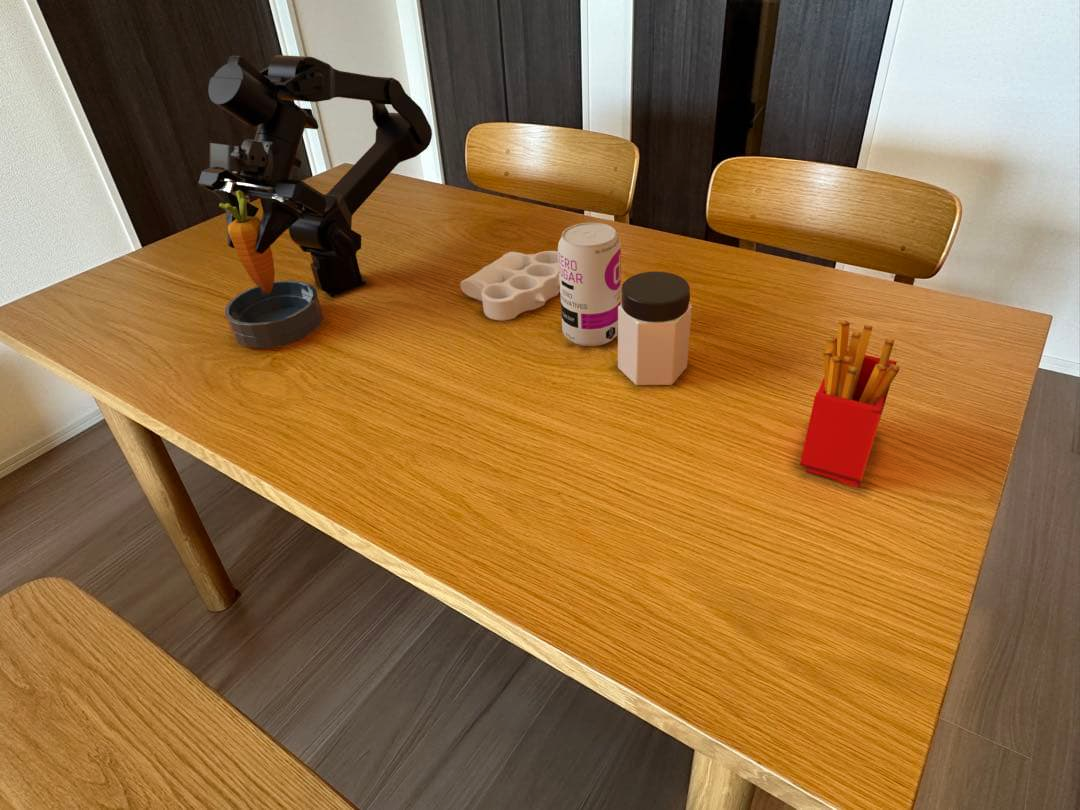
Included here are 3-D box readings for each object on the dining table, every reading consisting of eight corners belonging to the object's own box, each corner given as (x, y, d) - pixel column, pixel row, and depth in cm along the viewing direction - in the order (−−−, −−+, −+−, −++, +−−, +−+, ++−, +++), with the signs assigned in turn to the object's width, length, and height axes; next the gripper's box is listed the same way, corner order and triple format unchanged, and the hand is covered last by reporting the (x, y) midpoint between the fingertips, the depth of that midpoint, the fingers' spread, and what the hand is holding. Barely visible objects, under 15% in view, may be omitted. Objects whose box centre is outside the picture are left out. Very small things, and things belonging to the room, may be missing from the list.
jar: (698, 375, 89) (706, 292, 81) (644, 395, 86) (647, 311, 79) (659, 343, 95) (663, 263, 88) (608, 360, 93) (607, 280, 85)
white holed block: (518, 258, 118) (590, 278, 111) (447, 304, 108) (521, 330, 100) (517, 240, 116) (589, 259, 109) (444, 285, 105) (519, 309, 98)
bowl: (303, 297, 113) (296, 271, 110) (338, 327, 104) (331, 301, 101) (223, 326, 107) (212, 301, 104) (252, 362, 98) (242, 335, 95)
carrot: (264, 305, 99) (227, 204, 90) (245, 296, 102) (207, 197, 92) (293, 290, 102) (260, 191, 93) (273, 281, 105) (239, 184, 95)
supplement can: (628, 323, 100) (629, 224, 91) (608, 353, 94) (607, 251, 85) (576, 313, 103) (572, 217, 94) (553, 342, 97) (547, 243, 88)
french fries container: (792, 469, 74) (815, 361, 66) (812, 420, 80) (835, 316, 72) (862, 490, 71) (896, 380, 63) (877, 437, 77) (910, 330, 69)
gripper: (182, 108, 93) (148, 219, 93) (285, 118, 86) (249, 238, 85) (245, 148, 103) (215, 248, 103) (342, 160, 96) (310, 267, 95)
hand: (244, 250), depth 96 cm, fingers closed on carrot, 5 cm apart
